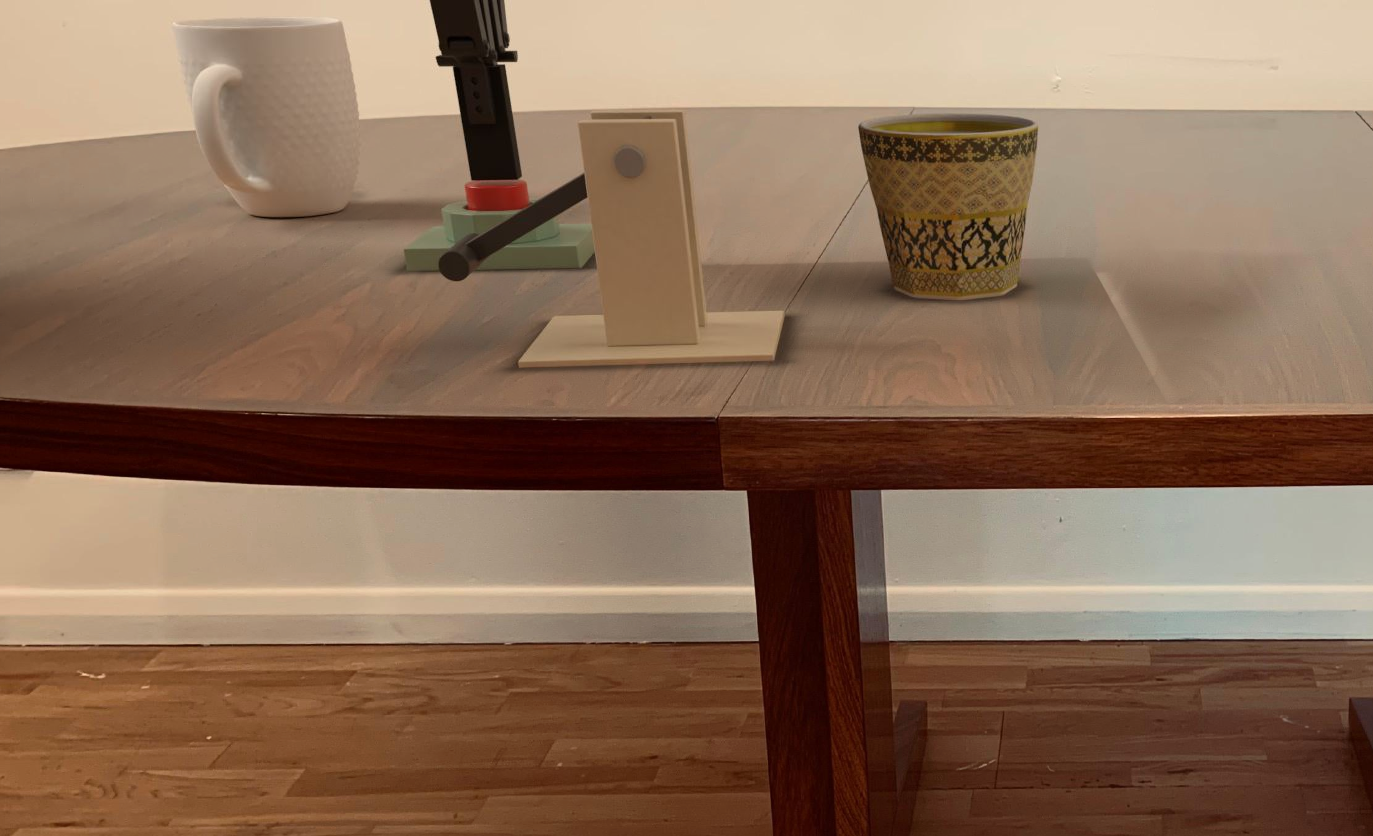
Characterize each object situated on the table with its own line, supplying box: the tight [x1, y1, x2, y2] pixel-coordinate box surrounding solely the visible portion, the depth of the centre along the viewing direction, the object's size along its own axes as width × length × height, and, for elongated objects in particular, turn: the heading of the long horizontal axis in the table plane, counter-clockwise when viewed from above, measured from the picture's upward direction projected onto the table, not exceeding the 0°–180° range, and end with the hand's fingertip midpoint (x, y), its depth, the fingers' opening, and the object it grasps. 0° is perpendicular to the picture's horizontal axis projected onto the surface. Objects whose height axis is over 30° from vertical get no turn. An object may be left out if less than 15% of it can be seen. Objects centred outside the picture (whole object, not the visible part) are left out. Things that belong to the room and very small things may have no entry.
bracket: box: [517, 108, 786, 369], centre depth 86 cm, size 12×10×12 cm
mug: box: [172, 16, 361, 218], centre depth 124 cm, size 15×11×13 cm
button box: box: [403, 197, 595, 272], centre depth 108 cm, size 10×8×4 cm
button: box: [464, 179, 530, 211], centre depth 107 cm, size 4×4×2 cm
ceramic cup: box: [858, 112, 1039, 301], centre depth 100 cm, size 13×10×10 cm
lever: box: [438, 116, 652, 282], centre depth 85 cm, size 12×5×2 cm, turn 99°
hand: (496, 178), depth 106 cm, fingers closed
